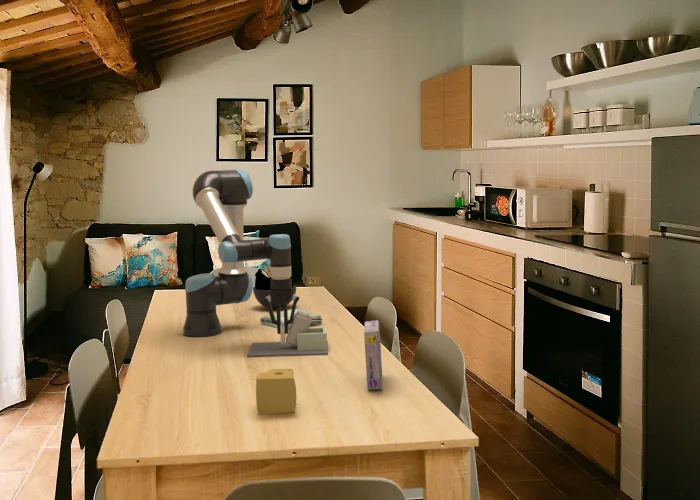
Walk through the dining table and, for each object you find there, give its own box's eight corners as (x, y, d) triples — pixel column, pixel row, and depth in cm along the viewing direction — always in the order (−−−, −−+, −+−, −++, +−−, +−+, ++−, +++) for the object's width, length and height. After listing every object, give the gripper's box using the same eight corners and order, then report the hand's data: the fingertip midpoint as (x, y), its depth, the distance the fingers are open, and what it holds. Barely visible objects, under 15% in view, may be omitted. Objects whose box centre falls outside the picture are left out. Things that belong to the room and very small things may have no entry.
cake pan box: (366, 374, 251) (364, 319, 250) (382, 374, 251) (380, 318, 249) (365, 391, 232) (364, 331, 230) (382, 391, 232) (381, 331, 230)
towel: (289, 332, 319) (288, 319, 319) (259, 324, 336) (259, 312, 335) (324, 325, 331) (324, 313, 330) (294, 318, 347) (294, 307, 347)
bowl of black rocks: (305, 306, 373) (304, 266, 371) (279, 314, 356) (277, 272, 354) (271, 303, 384) (270, 264, 382) (244, 310, 367) (243, 270, 365)
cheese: (257, 404, 223) (256, 369, 222) (296, 402, 224) (295, 367, 223) (256, 415, 213) (255, 379, 211) (297, 413, 213) (295, 377, 212)
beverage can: (299, 349, 284) (311, 317, 283) (283, 342, 285) (294, 311, 284) (303, 346, 290) (314, 315, 289) (287, 339, 291) (298, 309, 290)
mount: (252, 344, 297) (251, 326, 297) (327, 342, 298) (327, 324, 297) (247, 357, 277) (246, 338, 277) (327, 354, 278) (327, 336, 277)
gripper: (299, 275, 289) (301, 340, 291) (263, 276, 288) (265, 341, 291) (298, 278, 281) (300, 344, 284) (261, 279, 281) (264, 345, 283)
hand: (283, 342), depth 287 cm, fingers closed
